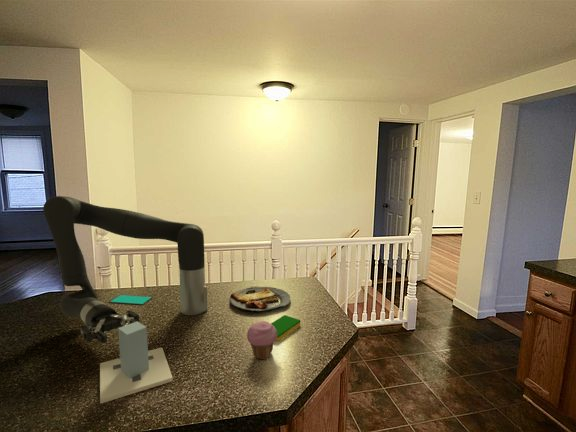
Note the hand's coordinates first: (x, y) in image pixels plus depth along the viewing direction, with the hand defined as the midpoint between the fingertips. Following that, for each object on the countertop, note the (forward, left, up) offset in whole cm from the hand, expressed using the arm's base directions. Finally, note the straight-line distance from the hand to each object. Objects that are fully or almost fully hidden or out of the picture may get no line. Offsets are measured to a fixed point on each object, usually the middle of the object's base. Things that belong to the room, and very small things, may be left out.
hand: (122, 333), depth 87 cm
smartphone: (-5, -46, -10) cm, 48 cm away
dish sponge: (-47, +6, -10) cm, 49 cm away
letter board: (-2, +7, -9) cm, 11 cm away
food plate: (-51, -20, -9) cm, 56 cm away
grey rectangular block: (-2, +7, -8) cm, 10 cm away
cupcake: (-35, +16, -9) cm, 40 cm away
